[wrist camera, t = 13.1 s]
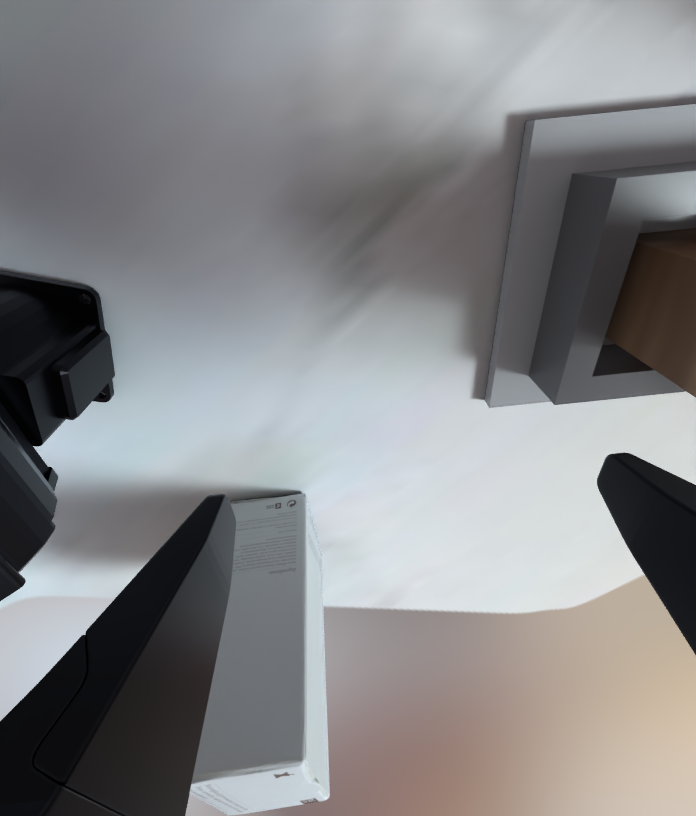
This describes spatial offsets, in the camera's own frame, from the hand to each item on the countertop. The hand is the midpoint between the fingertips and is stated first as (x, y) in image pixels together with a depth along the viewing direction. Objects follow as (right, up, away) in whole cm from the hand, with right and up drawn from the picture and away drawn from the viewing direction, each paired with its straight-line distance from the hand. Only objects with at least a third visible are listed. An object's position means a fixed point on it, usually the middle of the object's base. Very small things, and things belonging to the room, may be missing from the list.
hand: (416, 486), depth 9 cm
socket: (+13, +9, +11) cm, 19 cm away
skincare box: (-7, -8, +21) cm, 23 cm away
